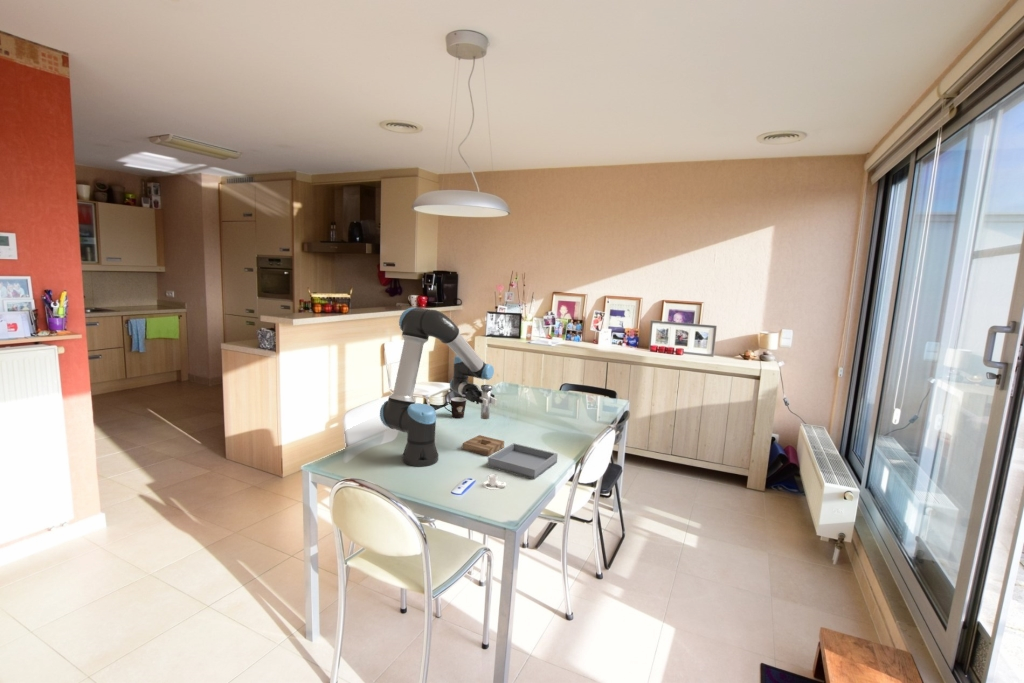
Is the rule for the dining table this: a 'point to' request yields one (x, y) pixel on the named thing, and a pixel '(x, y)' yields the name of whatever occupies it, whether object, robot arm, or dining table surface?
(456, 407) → the coffee mug
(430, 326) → the robot arm
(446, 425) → the dining table surface
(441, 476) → the dining table surface
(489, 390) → the lock pin
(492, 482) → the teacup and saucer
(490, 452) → the socket block
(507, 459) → the tray
